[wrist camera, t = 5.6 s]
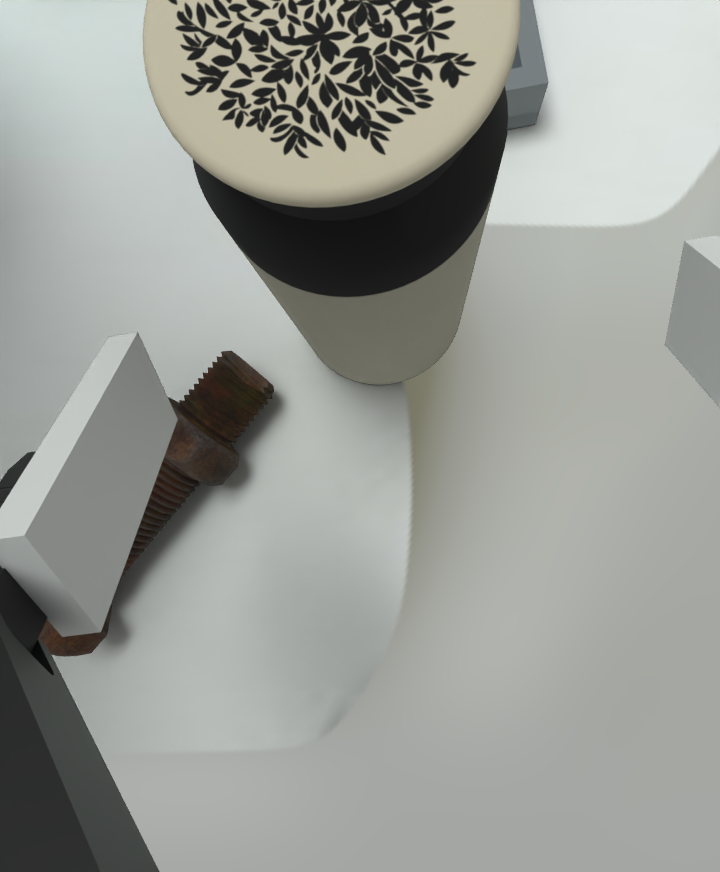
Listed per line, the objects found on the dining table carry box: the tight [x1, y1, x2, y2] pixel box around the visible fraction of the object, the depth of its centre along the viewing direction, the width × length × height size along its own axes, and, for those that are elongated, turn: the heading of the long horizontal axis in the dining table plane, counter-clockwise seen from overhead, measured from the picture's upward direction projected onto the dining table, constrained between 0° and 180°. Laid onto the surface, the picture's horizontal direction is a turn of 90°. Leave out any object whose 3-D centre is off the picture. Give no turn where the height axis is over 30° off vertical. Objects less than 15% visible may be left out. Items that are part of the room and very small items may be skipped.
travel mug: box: [143, 0, 520, 385], centre depth 20 cm, size 8×8×18 cm
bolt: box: [39, 351, 274, 656], centre depth 27 cm, size 6×5×15 cm
